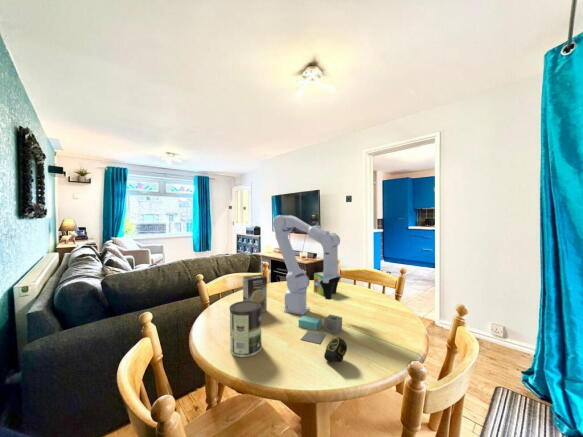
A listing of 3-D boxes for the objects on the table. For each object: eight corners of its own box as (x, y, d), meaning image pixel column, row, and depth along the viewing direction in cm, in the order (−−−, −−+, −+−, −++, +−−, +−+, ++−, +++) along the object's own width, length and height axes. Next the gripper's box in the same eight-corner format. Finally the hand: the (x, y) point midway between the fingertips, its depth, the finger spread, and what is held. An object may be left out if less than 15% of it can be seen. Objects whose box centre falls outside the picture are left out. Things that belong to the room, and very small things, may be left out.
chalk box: (313, 293, 136) (313, 267, 136) (326, 291, 141) (326, 265, 140) (323, 298, 128) (323, 270, 128) (337, 295, 133) (336, 268, 132)
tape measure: (329, 364, 73) (320, 356, 73) (339, 343, 77) (331, 335, 77) (343, 366, 68) (333, 357, 68) (352, 343, 72) (343, 335, 72)
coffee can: (259, 338, 87) (258, 299, 87) (264, 354, 77) (264, 309, 77) (229, 343, 84) (228, 302, 84) (230, 360, 74) (230, 313, 74)
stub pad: (300, 340, 85) (300, 339, 85) (307, 331, 92) (307, 330, 92) (320, 344, 82) (320, 343, 82) (325, 335, 89) (325, 334, 89)
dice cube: (336, 335, 89) (336, 322, 89) (324, 332, 91) (324, 318, 91) (342, 330, 93) (342, 317, 93) (330, 327, 96) (329, 314, 95)
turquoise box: (298, 327, 95) (298, 319, 95) (302, 322, 99) (302, 315, 99) (318, 331, 92) (318, 323, 92) (321, 326, 96) (321, 318, 96)
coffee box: (248, 316, 105) (248, 279, 105) (242, 312, 111) (242, 276, 111) (267, 312, 111) (267, 276, 110) (260, 307, 116) (260, 273, 116)
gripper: (335, 267, 92) (335, 303, 92) (344, 260, 105) (344, 292, 105) (317, 265, 95) (317, 300, 95) (328, 259, 108) (328, 290, 108)
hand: (330, 296), depth 100 cm, fingers open, 7 cm apart
